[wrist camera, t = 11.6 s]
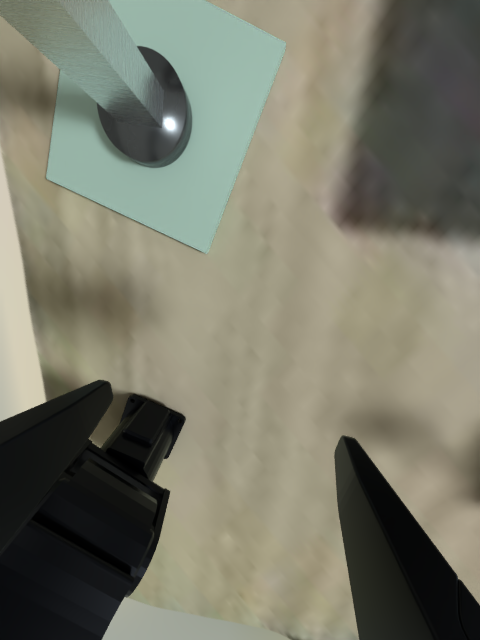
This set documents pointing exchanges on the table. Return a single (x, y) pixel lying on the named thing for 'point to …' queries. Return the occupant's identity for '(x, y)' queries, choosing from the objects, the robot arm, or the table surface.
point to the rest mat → (207, 120)
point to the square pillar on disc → (111, 74)
